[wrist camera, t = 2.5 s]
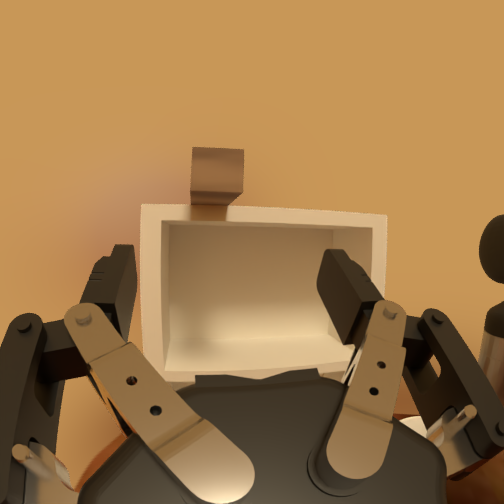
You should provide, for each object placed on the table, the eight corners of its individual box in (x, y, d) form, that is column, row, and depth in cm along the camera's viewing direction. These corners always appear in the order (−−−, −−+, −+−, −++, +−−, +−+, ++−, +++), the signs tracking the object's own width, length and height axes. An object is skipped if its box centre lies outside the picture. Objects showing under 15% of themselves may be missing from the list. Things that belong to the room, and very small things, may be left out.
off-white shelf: (358, 456, 34) (387, 215, 33) (160, 478, 30) (141, 204, 28) (325, 416, 46) (340, 220, 45) (164, 428, 41) (155, 213, 40)
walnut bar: (242, 192, 21) (244, 149, 21) (190, 190, 20) (192, 147, 20) (217, 215, 43) (217, 193, 42) (191, 214, 42) (192, 192, 42)
